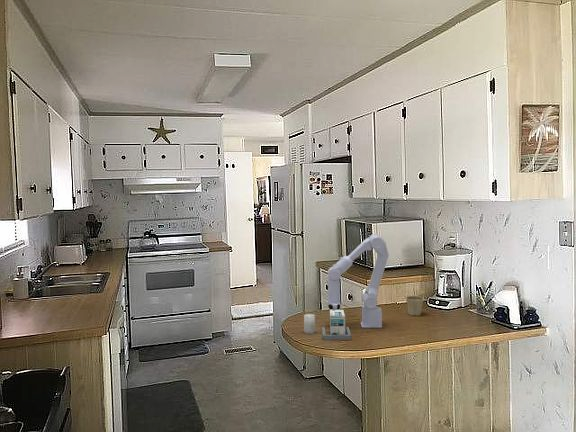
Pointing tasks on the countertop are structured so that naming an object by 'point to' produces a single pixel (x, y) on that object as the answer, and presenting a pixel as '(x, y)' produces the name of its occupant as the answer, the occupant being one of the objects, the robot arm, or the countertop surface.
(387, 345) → the countertop surface
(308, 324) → the white cylinder
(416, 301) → the flower pot
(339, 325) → the light bulb box
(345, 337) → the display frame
